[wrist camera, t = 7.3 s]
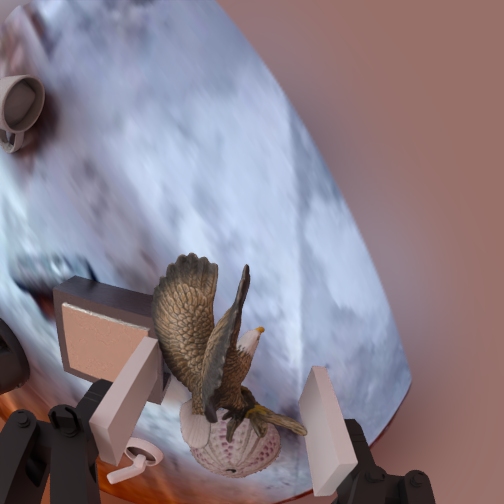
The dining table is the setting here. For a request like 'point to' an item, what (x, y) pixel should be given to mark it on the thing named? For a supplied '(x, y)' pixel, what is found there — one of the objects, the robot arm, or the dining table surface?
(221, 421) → the sea urchin shell
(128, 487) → the dining table surface
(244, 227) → the dining table surface
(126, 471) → the vr controller
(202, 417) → the eagle figurine
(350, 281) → the dining table surface
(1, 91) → the ceramic mug
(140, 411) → the robot arm
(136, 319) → the dark boxy piece
